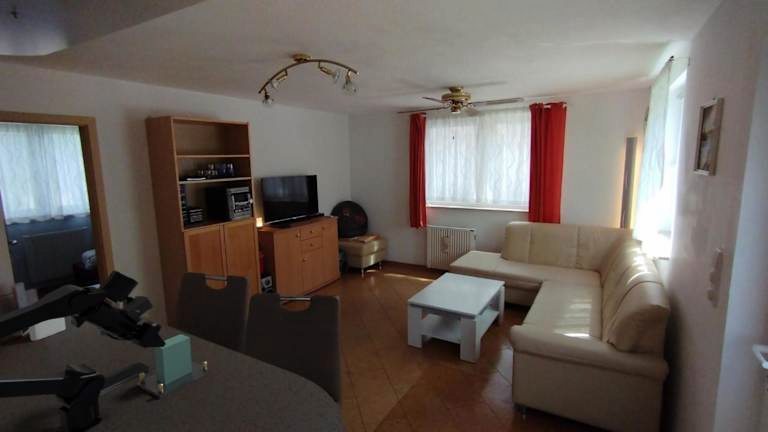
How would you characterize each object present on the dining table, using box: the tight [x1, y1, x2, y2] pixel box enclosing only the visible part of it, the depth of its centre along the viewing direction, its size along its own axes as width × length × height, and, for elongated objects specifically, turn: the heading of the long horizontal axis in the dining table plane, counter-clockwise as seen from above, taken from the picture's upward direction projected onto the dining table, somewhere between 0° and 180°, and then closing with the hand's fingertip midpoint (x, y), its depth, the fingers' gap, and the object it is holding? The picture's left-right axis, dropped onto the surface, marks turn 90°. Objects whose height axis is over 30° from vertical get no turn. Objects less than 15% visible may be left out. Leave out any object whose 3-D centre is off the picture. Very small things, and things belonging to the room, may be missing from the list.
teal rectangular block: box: [153, 334, 192, 385], centre depth 108 cm, size 8×4×11 cm, turn 150°
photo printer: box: [28, 317, 66, 342], centre depth 134 cm, size 10×4×12 cm, turn 160°
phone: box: [99, 361, 152, 397], centre depth 108 cm, size 8×1×15 cm
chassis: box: [137, 360, 211, 399], centre depth 108 cm, size 15×12×4 cm
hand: (154, 342), depth 103 cm, fingers open, 9 cm apart
